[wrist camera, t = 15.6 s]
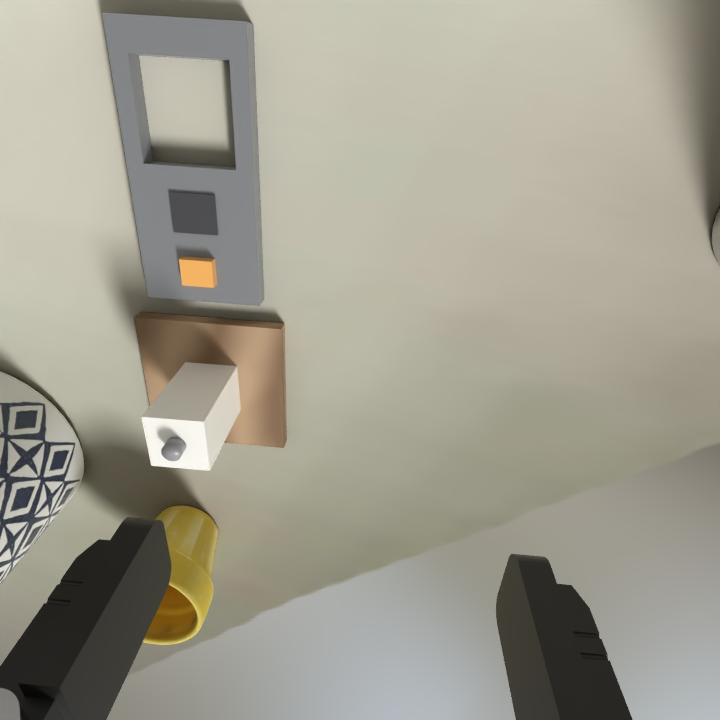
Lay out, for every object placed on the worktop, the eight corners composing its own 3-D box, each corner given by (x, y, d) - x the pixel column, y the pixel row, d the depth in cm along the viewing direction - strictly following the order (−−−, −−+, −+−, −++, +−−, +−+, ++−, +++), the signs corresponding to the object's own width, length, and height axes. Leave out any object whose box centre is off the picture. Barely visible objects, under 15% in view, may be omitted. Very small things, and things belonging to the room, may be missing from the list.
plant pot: (124, 529, 52) (71, 613, 44) (165, 474, 48) (116, 555, 40) (206, 572, 55) (171, 659, 46) (252, 523, 51) (223, 609, 42)
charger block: (237, 366, 40) (198, 430, 32) (240, 409, 42) (205, 479, 34) (185, 362, 40) (134, 425, 32) (191, 405, 42) (145, 474, 35)
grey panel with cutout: (253, 24, 30) (242, 19, 28) (264, 299, 38) (256, 309, 36) (114, 16, 30) (94, 10, 28) (156, 290, 39) (143, 300, 37)
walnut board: (284, 323, 39) (281, 329, 38) (286, 439, 45) (283, 447, 44) (140, 311, 40) (134, 317, 39) (161, 428, 45) (155, 436, 44)
